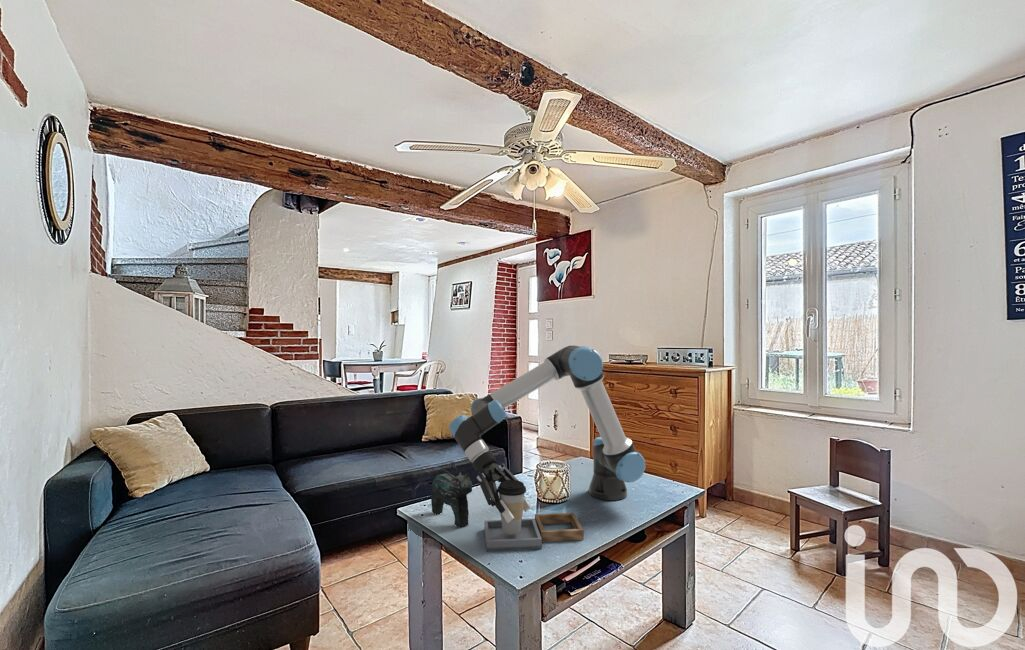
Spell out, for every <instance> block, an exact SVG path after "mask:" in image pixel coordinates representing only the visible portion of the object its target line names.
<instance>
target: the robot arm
mask: <svg viewBox="0 0 1025 650" xmlns="http://www.w3.org/2000/svg"><path fill="white" fill-rule="evenodd" d="M603 368H604V363H603V359H602V357H601V355H600V353H599V352H598V351H596V350H595V349H593V348H591V347H589V346H583V345H581V346H579V345H568V346H565V347H562V348H561V349H559V350H558V351H556V352H554V353H552V354H551V355H549V356H547V357H546V358H545V359H544V361H543V363H541V364H539V365H538V366H536V367H533V368H532V369H531V370H528V371H527V372H526V373H524V374H522V375H520V376H518V377H516V378H515V379H513V380H511V381H509V382H508V383H507V384H504V385H502V386H501V387H499V388H497V389H496V390H494V391H492V392H491V393H489V394H487V395H486V396H484V397H480V398H476V399H474V400H473V401H472V402H471V404H470V412H471V416H467V415H466V414H461V415H459V416H457V417H456V418H454V419H453V420H452V421H451V422H450V424H449V426H448V428H449V429H448V430H449V431H450V432H451V434H452V437H453V438H454V439H455V441H456V442H457V444H458V446H459V447H460V449H461V450H462V451H463V453H464V454H465V455H466V457H467V458H468V460H469V461H470V462H471V463H472V466H473V468H474V470H475V471H476V472H477V473H479V474H478V475H477V476H476V477H475V480H476V481H477V483H478V484H479V486H480V488H481V491H482V493H483V495H484V499H485V500H486V502H487V505H488V506H491V507H495V508H496V509H497V510H498V513H499V514H500V513H501V514H502V515H503V517H504V518H505V520H506V521H507V523H509V522H510V521H511V520H512V519H513V518H514V517H513V515H512V514H511V512H510V511H509V509H508V508H507V506H506V505H505V503H504V502H503V500H501V501H500V498H499V493H498V491H497V488H498V486H497V483H496V482H498V483H501V482H503V481H506V480H517V481H519V480H518V478H517V477H516V476H515V475H514V474H513V473H512V472H511V471H510V470H509V469H508V468H507V466H506V465H505V463H502V464H501V465H499V464H497V463H496V461H497V459H496V456H495V455H494V454H493V452H492V451H490V448H489V446H488V445H487V444H486V442H485V440H484V439H483V438H482V436H483V435H484V434H486V433H487V432H488V431H489V430H491V429H492V428H493V427H495V426H497V425H498V424H500V423H501V422H502V421H503V420H504V419H506V417H507V412H506V410H505V409H506V408H507V407H509V406H511V405H513V404H515V403H516V402H518V401H519V400H522V398H524V397H526V396H527V395H530V394H531V393H533V392H534V391H536V390H538V389H540V388H542V387H543V386H545V385H546V384H548V383H550V382H552V381H554V380H556V381H559V380H560V379H562V378H565V377H568V376H569V377H570V379H571V381H572V383H573V387H574V388H575V389H577V390H580V391H581V394H582V396H583V399H584V401H585V403H586V406H587V408H588V410H589V413H590V415H591V418H592V420H593V421H594V424H595V426H596V429H597V431H598V433H599V436H598V437H597V436H596V437H595V438H594V439H593V445H592V448H593V474H592V477H591V481H590V483H589V487H588V493H589V494H590V496H592V497H593V498H595V497H596V499H598V498H599V500H602V499H604V500H603V501H620V500H619V499H621V500H623V498H624V499H626V498H627V496H628V488H627V485H626V483H634V482H636V481H638V480H640V479H641V478H642V477H643V475H644V473H645V471H646V460H645V458H644V456H642V454H641V452H640V453H639V452H638V451H637V450H636V447H635V445H634V442H633V441H632V439H631V438H629V437H628V436H627V437H626V435H625V433H624V430H623V427H622V425H621V423H620V420H619V418H618V415H617V413H616V411H615V409H614V406H613V404H612V401H611V399H610V396H609V395H608V392H607V390H606V387H605V385H604V382H603V380H604V378H605V375H604V372H603ZM531 508H532V505H531V504H530V503H529V502H528V500H527V498H526V496H525V495H524V505H523V512H525V513H526V512H528V510H529V509H531Z"/></svg>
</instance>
